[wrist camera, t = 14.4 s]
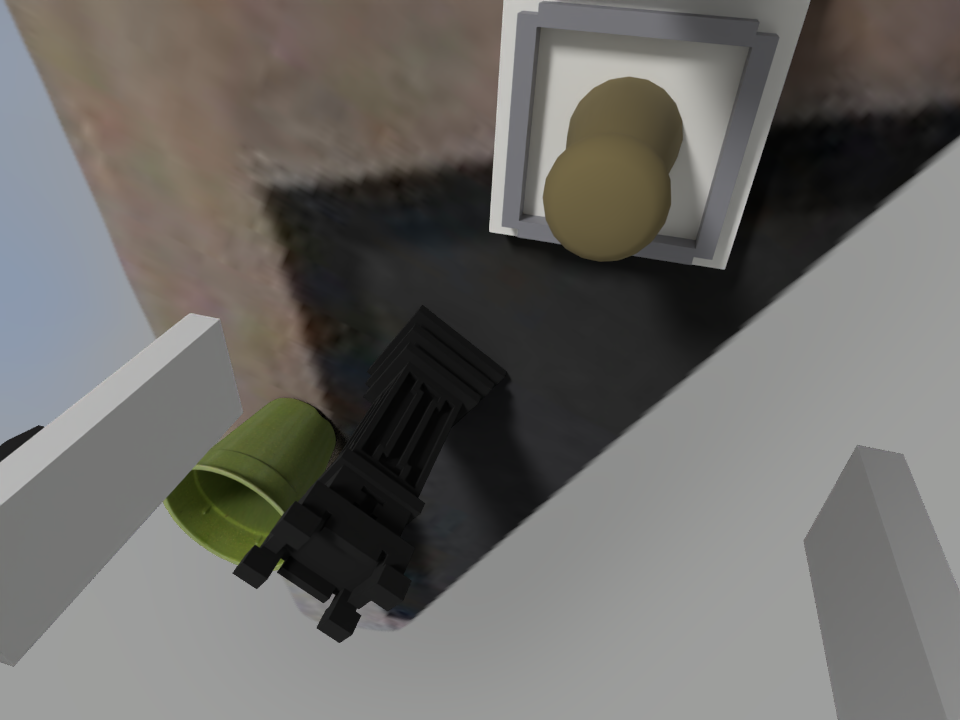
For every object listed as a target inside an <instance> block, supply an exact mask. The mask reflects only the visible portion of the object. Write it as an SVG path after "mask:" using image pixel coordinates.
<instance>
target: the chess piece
mask: <svg viewBox="0 0 960 720" xmlns="http://www.w3.org/2000/svg"><path fill="white" fill-rule="evenodd" d="M367 372H368V373H369V374H370V375H372V376H371V377H370V378H369V379H368V381H367V382H366V385H367V386H368V387H370V388H369V389H368V391H367V392H366V393H365V395H364V396H363V397H364V398H365V399H366V400H368V401H369V402H371V403H372V406H371V407H370V409H369V410H368V412H367V413H366V415H365V416H364V418H363V419H362V421H361V422H360V424H359V425H358V427H357V428H356V430H355V432H354V433H353V435H352V436H351V438H350V439H349V441H348V442H347V444H346V445H345V447H344V448H343V450H342V451H341V453H340V454H339V456H338V457H337V459H336V460H335V461H334V462H333V463H332V464H331V465H330V467H329V468H328V469H327V470H326V471H325V472H324V473H323V474H322V475H321V476H320V477H319V478H318V479H317V481H316V482H315V483H314V484H313V485H312V486H311V487H310V488H309V489H308V490H307V492H306V493H305V494H304V496H303V497H302V498H301V499H300V500H299V501H298V502H297V501H295V502H294V503H293V504H292V505H291V506H290V507H289V508H288V509H287V510H286V511H285V512H284V514H283V515H282V516H281V518H280V519H279V521H278V522H277V524H276V525H275V526H274V528H273V529H272V530H271V532H270V533H269V535H268V536H267V538H266V539H265V540H264V542H263V543H262V545H261V546H260V548H259V547H258V546H256V545H254V546H253V547H252V548H251V549H250V550H249V551H248V553H247V554H246V555H245V556H244V557H243V559H242V560H241V562H240V563H239V564H238V566H237V567H236V569H235V570H234V572H233V574H234V575H236V576H238V577H239V578H240V579H242V580H243V581H245V582H247V583H248V584H250V585H251V586H253V587H254V588H256V589H257V588H258V587H260V586H261V585H262V584H263V583H264V582H265V581H266V580H267V579H268V577H269V576H270V574H271V573H272V571H273V570H274V568H275V567H276V565H277V563H278V562H279V560H280V559H282V560H284V562H283V564H282V565H281V567H280V569H279V570H278V572H277V573H279V574H280V575H282V576H283V577H285V578H286V579H288V580H289V581H291V582H292V583H294V584H295V585H297V586H298V587H300V588H301V589H303V590H304V591H306V592H307V593H309V594H310V595H312V596H313V597H315V598H316V599H318V600H319V601H321V602H322V603H324V602H326V601H327V600H328V599H330V597H331V595H332V593H333V594H335V597H334V599H333V601H332V603H331V604H330V606H329V608H327V609H326V611H325V613H324V614H323V616H322V618H321V620H320V622H319V624H318V626H317V629H319V630H320V631H322V632H323V633H325V634H327V635H328V636H329V637H331V638H333V639H334V640H336V641H337V642H339V643H340V642H342V641H343V640H345V639H346V638H348V637H349V636H351V635H352V634H353V632H354V630H355V628H356V626H357V623H358V621H359V619H360V617H361V615H360V614H359V613H357V612H356V610H357V608H358V609H360V608H361V607H363V606H364V605H366V604H367V603H368V602H370V601H373V602H374V603H376V604H377V605H379V606H380V607H382V608H383V609H385V610H386V611H389V610H390V609H392V608H393V607H395V606H396V605H398V604H399V603H401V602H402V601H403V600H404V597H405V595H406V593H407V590H408V588H409V585H410V583H411V580H410V579H408V578H407V577H406V576H404V575H403V574H404V572H405V570H406V567H407V565H408V563H409V561H410V558H411V556H412V554H413V551H414V549H415V548H414V547H413V546H411V545H410V544H408V543H407V542H406V541H404V540H403V539H401V538H400V536H401V533H402V531H403V529H404V527H405V526H406V525H407V524H408V523H409V522H410V521H412V520H413V519H414V518H415V517H417V516H418V515H419V514H420V513H421V511H422V509H423V507H424V504H425V503H424V502H423V501H421V500H420V499H419V498H418V497H419V495H420V493H421V491H422V489H423V487H424V484H425V482H426V480H427V478H428V476H429V474H430V472H431V469H432V467H433V465H434V463H435V461H436V459H437V457H438V454H439V452H440V450H441V448H442V446H443V444H444V442H445V440H446V437H447V435H448V433H449V431H450V429H451V428H452V427H453V426H454V425H455V424H456V423H457V422H458V421H459V420H460V419H461V418H462V417H464V416H465V415H466V414H467V413H468V412H469V411H470V410H471V409H472V408H473V407H474V406H476V405H477V404H478V402H479V401H480V400H481V399H482V398H483V397H484V396H486V395H487V394H488V393H489V392H490V391H491V390H492V388H493V387H494V386H496V385H497V384H498V383H499V382H500V381H501V380H502V379H503V378H504V377H505V374H506V372H507V371H505V370H504V369H503V368H501V367H500V366H499V365H498V364H496V363H495V362H494V361H493V360H491V359H490V358H489V357H488V356H486V355H485V354H484V353H483V352H481V351H480V350H479V349H477V348H476V347H475V346H474V345H472V344H471V343H470V342H469V341H467V340H466V339H465V338H464V337H462V336H461V335H460V334H458V333H457V332H456V331H455V330H453V329H452V328H451V327H450V326H448V325H447V324H446V323H445V322H443V321H442V320H441V319H439V318H438V317H437V316H436V315H434V314H433V313H432V312H431V311H429V310H428V309H427V308H426V307H424V306H423V305H422V306H421V307H420V309H419V310H418V311H417V312H416V313H415V315H414V316H413V317H412V318H411V319H410V321H409V322H408V323H407V324H406V325H405V327H404V328H403V329H402V330H401V331H400V332H399V334H398V335H397V336H396V337H395V338H394V340H393V341H392V342H391V343H390V344H389V346H388V347H387V348H386V349H385V350H384V352H383V353H382V354H381V355H380V356H379V357H378V359H377V360H376V361H375V362H374V363H373V365H372V366H371V367H370V369H369V370H368V371H367Z"/></svg>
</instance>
